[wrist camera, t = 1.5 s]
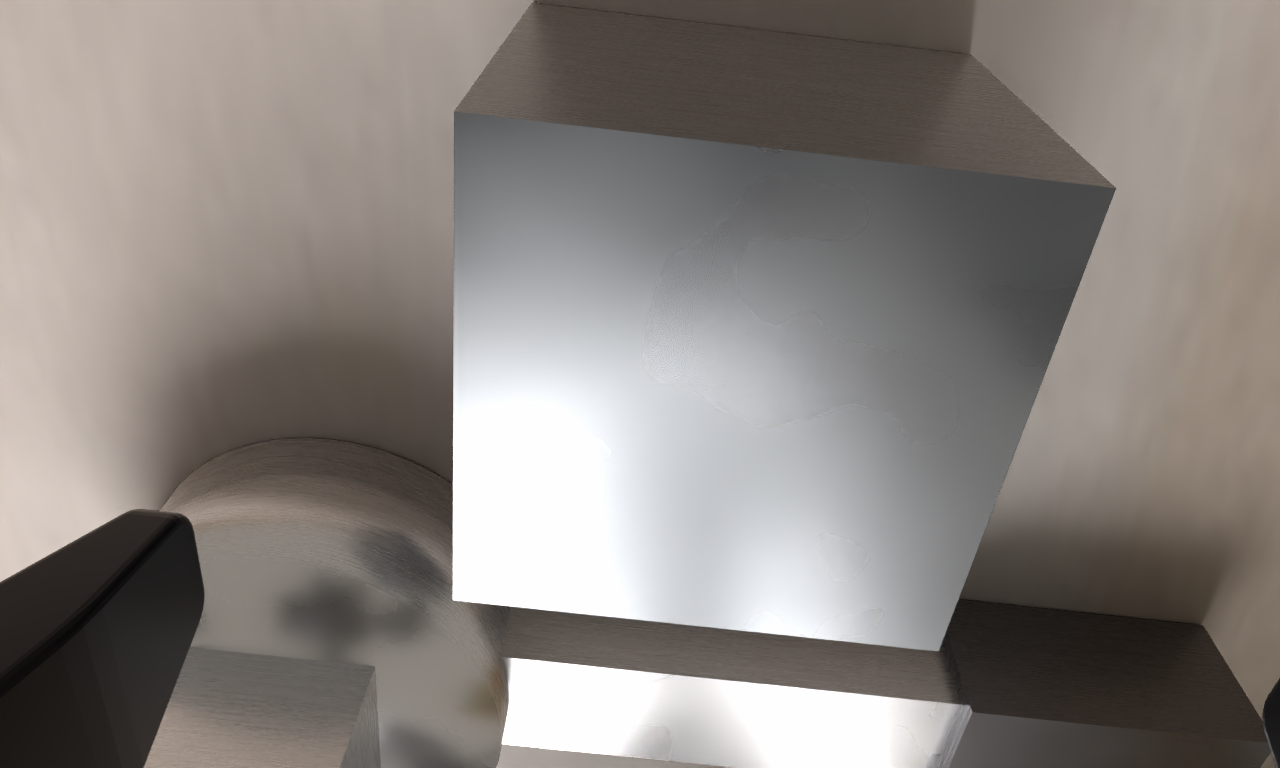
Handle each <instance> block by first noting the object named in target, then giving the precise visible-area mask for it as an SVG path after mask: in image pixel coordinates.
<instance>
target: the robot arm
mask: <svg viewBox="0 0 1280 768" xmlns="http://www.w3.org/2000/svg"><path fill="white" fill-rule="evenodd" d="M204 598H205V592H204V584H203V578H202V573H201V567H200V562H199V556H198V551H197V545H196V540H195V534H194V530H193V526H192V523H191V522H190V520H189V519H188V518H187V517H186V516H184V515H182V514H180V513H174V512H165V511H155V510H146V509H135V510H131V511H128V512H126V513H124V514H122V515H120V516H118V517H116V518H115V519H113V520H111V521H109V522H107V523H106V524H104V525H102V526H100V527H98V528H97V529H95V530H93V531H91V532H89V533H88V534H86V535H84V536H82V537H80V538H79V539H77V540H75V541H73V542H72V543H70V544H68V545H66V546H64V547H63V548H61V549H59V550H57V551H55V552H54V553H52V554H50V555H48V556H46V557H45V558H43V559H41V560H39V561H37V562H36V563H34V564H32V565H30V566H28V567H27V568H25V569H23V570H21V571H19V572H18V573H16V574H14V575H12V576H11V577H9V578H7V579H5V580H3V581H2V582H0V768H144V766H145V763H146V761H147V758H148V756H149V753H150V750H151V748H152V745H153V743H154V740H155V737H156V735H157V732H158V729H159V727H160V724H161V722H162V719H163V716H164V714H165V711H166V709H167V706H168V703H169V701H170V698H171V696H172V693H173V690H174V688H175V685H176V683H177V680H178V677H179V675H180V672H181V670H182V667H183V664H184V662H185V659H186V656H187V654H188V651H189V649H190V646H191V643H192V641H193V638H194V636H195V633H196V630H197V628H198V625H199V622H200V620H201V616H202V612H203V607H204ZM1263 726H1264V731H1265V735H1266V738H1267V741H1268V744H1269V747H1270V750H1271V753H1272V756H1273V759H1274V762H1275V765H1276V768H1280V679H1279V680H1278V682H1277V683H1276V685H1275V686H1274V688H1273V689H1272V691H1271V692H1270V694H1269V695H1268V697H1267V699H1266V701H1265V705H1264V708H1263Z"/></svg>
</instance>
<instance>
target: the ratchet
mask: <svg viewBox="0 0 1280 768" xmlns="http://www.w3.org/2000/svg"><path fill="white" fill-rule="evenodd" d="M160 511H165V512H174V513H180V514H182V515H184V516H186V517H187V518H188V519H189V520H190V522H191V523H192V526H193V530H194V534H195V540H196V545H197V551H198V556H199V562H200V567H201V573H202V578H203V584H204V592H205V598H204V607H203V612H202V616H201V620H200V622H199V625H198V628H197V630H196V633H195V636H194V638H193V641H192V643H191V646H190V649H189V651H188V654H187V656H186V659H185V662H184V664H183V667H182V670H181V672H180V675H179V677H178V680H177V683H176V685H175V688H174V690H173V693H172V696H171V698H170V701H169V703H168V706H167V709H166V711H165V714H164V716H163V719H162V722H161V724H160V727H159V729H158V732H157V735H156V737H155V740H154V743H153V745H152V748H151V750H150V753H149V756H148V758H147V761H146V763H145V766H144V768H496V766H497V763H498V761H499V756H500V751H501V745H502V744H506V745H516V746H526V747H536V748H545V749H555V750H565V751H575V752H585V753H594V754H604V755H614V756H624V757H634V758H644V759H653V760H663V761H673V762H683V763H693V764H703V765H712V766H722V767H732V768H1260V767H1261V765H1262V764H1263V762H1264V761H1265V759H1266V758H1267V757H1268V755H1269V754H1270V752H1271V750H1270V747H1269V744H1268V741H1267V738H1266V735H1265V731H1264V726H1263V721H1262V720H1261V718H1260V717H1259V715H1258V713H1257V712H1256V710H1255V708H1254V707H1253V705H1252V704H1251V702H1250V700H1249V699H1248V697H1247V696H1246V694H1245V692H1244V691H1243V689H1242V688H1241V686H1240V684H1239V683H1238V681H1237V680H1236V678H1235V676H1234V675H1233V673H1232V671H1231V670H1230V668H1229V667H1228V665H1227V663H1226V662H1225V660H1224V659H1223V657H1222V655H1221V654H1220V652H1219V651H1218V649H1217V647H1216V646H1215V644H1214V643H1213V641H1212V639H1211V638H1210V636H1209V634H1208V633H1207V631H1206V630H1205V628H1204V626H1203V625H1194V624H1185V623H1175V622H1166V621H1156V620H1147V619H1138V618H1128V617H1119V616H1109V615H1100V614H1090V613H1081V612H1072V611H1062V610H1053V609H1043V608H1034V607H1025V606H1015V605H1006V604H996V603H987V602H977V601H968V600H959V599H958V602H957V604H956V607H955V610H954V612H953V615H952V617H951V620H950V623H949V625H948V628H947V631H946V633H945V636H944V638H943V641H942V644H941V646H940V649H939V651H930V650H921V649H911V648H902V647H892V646H883V645H873V644H863V643H854V642H844V641H835V640H825V639H816V638H806V637H797V636H787V635H778V634H768V633H759V632H749V631H740V630H730V629H721V628H711V627H702V626H692V625H682V624H673V623H663V622H654V621H644V620H635V619H625V618H616V617H606V616H597V615H587V614H578V613H568V612H559V611H549V610H540V609H530V608H521V607H511V606H501V605H492V604H482V603H473V602H463V601H454V600H453V484H451V483H449V482H448V481H446V480H445V479H443V478H442V477H440V476H438V475H437V474H435V473H434V472H432V471H430V470H428V469H426V468H424V467H422V466H420V465H418V464H416V463H414V462H412V461H410V460H407V459H404V458H402V457H399V456H397V455H394V454H391V453H389V452H386V451H383V450H379V449H375V448H372V447H368V446H364V445H360V444H356V443H350V442H344V441H338V440H331V439H315V438H293V439H277V440H271V441H265V442H259V443H254V444H250V445H247V446H244V447H240V448H237V449H234V450H231V451H229V452H226V453H224V454H222V455H220V456H218V457H216V458H214V459H211V460H210V461H208V462H207V463H205V464H204V465H202V466H201V467H199V468H198V469H196V470H195V471H193V472H192V473H191V474H190V475H189V476H188V477H187V478H186V479H185V480H184V481H183V482H181V483H180V484H179V485H178V487H177V488H176V489H175V491H174V492H173V494H172V495H171V496H170V498H169V499H168V500H167V502H166V503H165V504H164V506H163V507H162V509H161V510H160Z"/></svg>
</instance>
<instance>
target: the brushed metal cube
mask: <svg viewBox="0 0 1280 768" xmlns="http://www.w3.org/2000/svg"><path fill="white" fill-rule="evenodd" d="M1115 190H1116V188H1115V187H1114V186H1113V185H1112V184H1111V183H1110V182H1109V181H1108V180H1107V179H1106V178H1104V177H1103V176H1102V175H1101V174H1100V173H1099V172H1098V171H1097V170H1096V169H1095V168H1094V167H1092V166H1091V165H1090V164H1089V163H1088V162H1087V161H1086V160H1085V159H1084V158H1083V157H1082V156H1081V155H1079V154H1078V153H1077V152H1076V151H1075V150H1074V149H1073V148H1072V147H1071V146H1070V145H1069V144H1067V143H1066V142H1065V141H1064V140H1063V139H1062V138H1061V137H1060V136H1059V135H1058V134H1057V133H1056V132H1054V131H1053V130H1052V129H1051V128H1050V127H1049V126H1048V125H1047V124H1046V123H1045V122H1044V121H1042V120H1041V119H1040V118H1039V117H1038V116H1037V115H1036V114H1035V113H1034V112H1033V111H1032V110H1031V109H1029V108H1028V107H1027V106H1026V105H1025V104H1024V103H1023V102H1022V101H1021V100H1020V99H1019V98H1017V97H1016V96H1015V95H1014V94H1013V93H1012V92H1011V91H1010V90H1009V89H1008V88H1007V87H1006V86H1004V85H1003V84H1002V83H1001V82H1000V81H999V80H998V79H997V78H996V77H995V76H994V75H992V74H991V73H990V72H989V71H988V70H987V69H986V68H985V67H984V66H983V65H982V64H981V63H979V62H978V61H977V60H976V59H975V58H974V57H973V56H972V55H968V54H960V53H952V52H943V51H935V50H926V49H918V48H909V47H901V46H893V45H884V44H876V43H867V42H859V41H851V40H842V39H834V38H825V37H817V36H808V35H800V34H792V33H783V32H775V31H766V30H758V29H750V28H741V27H733V26H724V25H716V24H707V23H699V22H691V21H682V20H674V19H665V18H657V17H649V16H640V15H632V14H623V13H615V12H606V11H598V10H590V9H581V8H573V7H564V6H556V5H548V4H539V3H532V4H531V5H530V7H529V8H528V9H527V11H526V12H525V14H524V15H523V16H522V18H521V19H520V20H519V22H518V23H517V25H516V26H515V27H514V29H513V30H512V32H511V33H510V34H509V36H508V37H507V39H506V40H505V41H504V43H503V44H502V46H501V47H500V48H499V50H498V51H497V53H496V54H495V55H494V57H493V58H492V59H491V61H490V62H489V64H488V65H487V66H486V68H485V69H484V71H483V72H482V73H481V75H480V76H479V78H478V79H477V80H476V82H475V83H474V85H473V86H472V87H471V89H470V90H469V92H468V93H467V94H466V96H465V97H464V98H463V100H462V101H461V103H460V104H459V105H458V107H457V108H456V110H455V111H454V336H453V600H454V601H463V602H473V603H482V604H492V605H501V606H511V607H521V608H530V609H540V610H549V611H559V612H568V613H578V614H587V615H597V616H606V617H616V618H625V619H635V620H644V621H654V622H663V623H673V624H682V625H692V626H702V627H711V628H721V629H730V630H740V631H749V632H759V633H768V634H778V635H787V636H797V637H806V638H816V639H825V640H835V641H844V642H854V643H863V644H873V645H883V646H892V647H902V648H911V649H921V650H930V651H939V649H940V646H941V644H942V641H943V638H944V636H945V633H946V631H947V628H948V625H949V623H950V620H951V617H952V615H953V612H954V610H955V607H956V604H957V602H958V599H959V597H960V594H961V591H962V589H963V586H964V584H965V581H966V578H967V576H968V573H969V571H970V568H971V565H972V563H973V560H974V557H975V555H976V552H977V550H978V547H979V544H980V542H981V539H982V537H983V534H984V531H985V529H986V526H987V524H988V521H989V518H990V516H991V513H992V511H993V508H994V505H995V503H996V500H997V498H998V495H999V492H1000V490H1001V487H1002V484H1003V482H1004V479H1005V477H1006V474H1007V471H1008V469H1009V466H1010V464H1011V461H1012V458H1013V456H1014V453H1015V451H1016V448H1017V445H1018V443H1019V440H1020V438H1021V435H1022V432H1023V430H1024V427H1025V424H1026V422H1027V419H1028V417H1029V414H1030V411H1031V409H1032V406H1033V404H1034V401H1035V398H1036V396H1037V393H1038V391H1039V388H1040V385H1041V383H1042V380H1043V378H1044V375H1045V372H1046V370H1047V367H1048V364H1049V362H1050V359H1051V357H1052V354H1053V351H1054V349H1055V346H1056V344H1057V341H1058V338H1059V336H1060V333H1061V331H1062V328H1063V325H1064V323H1065V320H1066V318H1067V315H1068V312H1069V310H1070V307H1071V304H1072V302H1073V299H1074V297H1075V294H1076V291H1077V289H1078V286H1079V284H1080V281H1081V278H1082V276H1083V273H1084V271H1085V268H1086V265H1087V263H1088V260H1089V258H1090V255H1091V252H1092V250H1093V247H1094V245H1095V242H1096V239H1097V237H1098V234H1099V231H1100V229H1101V226H1102V224H1103V221H1104V218H1105V216H1106V213H1107V211H1108V208H1109V205H1110V203H1111V200H1112V198H1113V195H1114V192H1115Z"/></svg>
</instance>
